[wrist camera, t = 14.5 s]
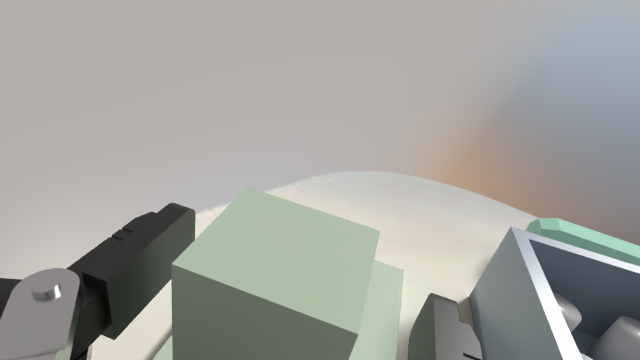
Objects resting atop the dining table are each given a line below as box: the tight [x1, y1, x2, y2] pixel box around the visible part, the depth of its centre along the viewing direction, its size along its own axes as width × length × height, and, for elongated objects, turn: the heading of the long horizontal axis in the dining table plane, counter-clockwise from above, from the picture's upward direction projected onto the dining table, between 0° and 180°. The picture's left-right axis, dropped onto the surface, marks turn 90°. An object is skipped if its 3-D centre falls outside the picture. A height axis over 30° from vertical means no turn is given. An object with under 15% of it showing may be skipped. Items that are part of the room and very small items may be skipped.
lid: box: [153, 187, 404, 360], centre depth 16 cm, size 11×15×11 cm
